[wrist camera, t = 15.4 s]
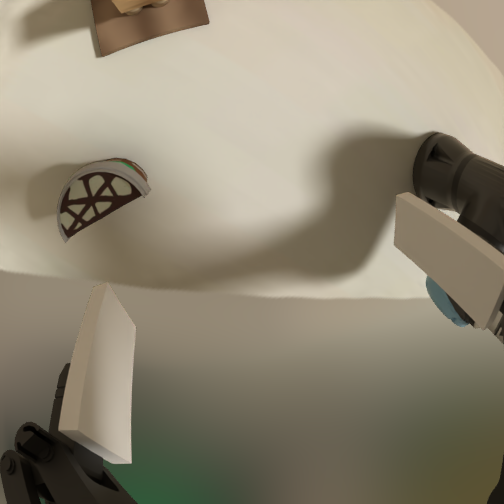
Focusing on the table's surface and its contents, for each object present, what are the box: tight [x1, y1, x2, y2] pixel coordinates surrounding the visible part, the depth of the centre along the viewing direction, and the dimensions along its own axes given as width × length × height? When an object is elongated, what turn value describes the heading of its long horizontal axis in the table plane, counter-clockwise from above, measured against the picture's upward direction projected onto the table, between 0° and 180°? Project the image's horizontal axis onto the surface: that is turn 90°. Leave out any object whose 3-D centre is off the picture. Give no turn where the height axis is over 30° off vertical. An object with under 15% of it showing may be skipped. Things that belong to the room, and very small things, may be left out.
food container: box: [57, 158, 151, 243], centre depth 30 cm, size 12×6×10 cm, turn 110°
